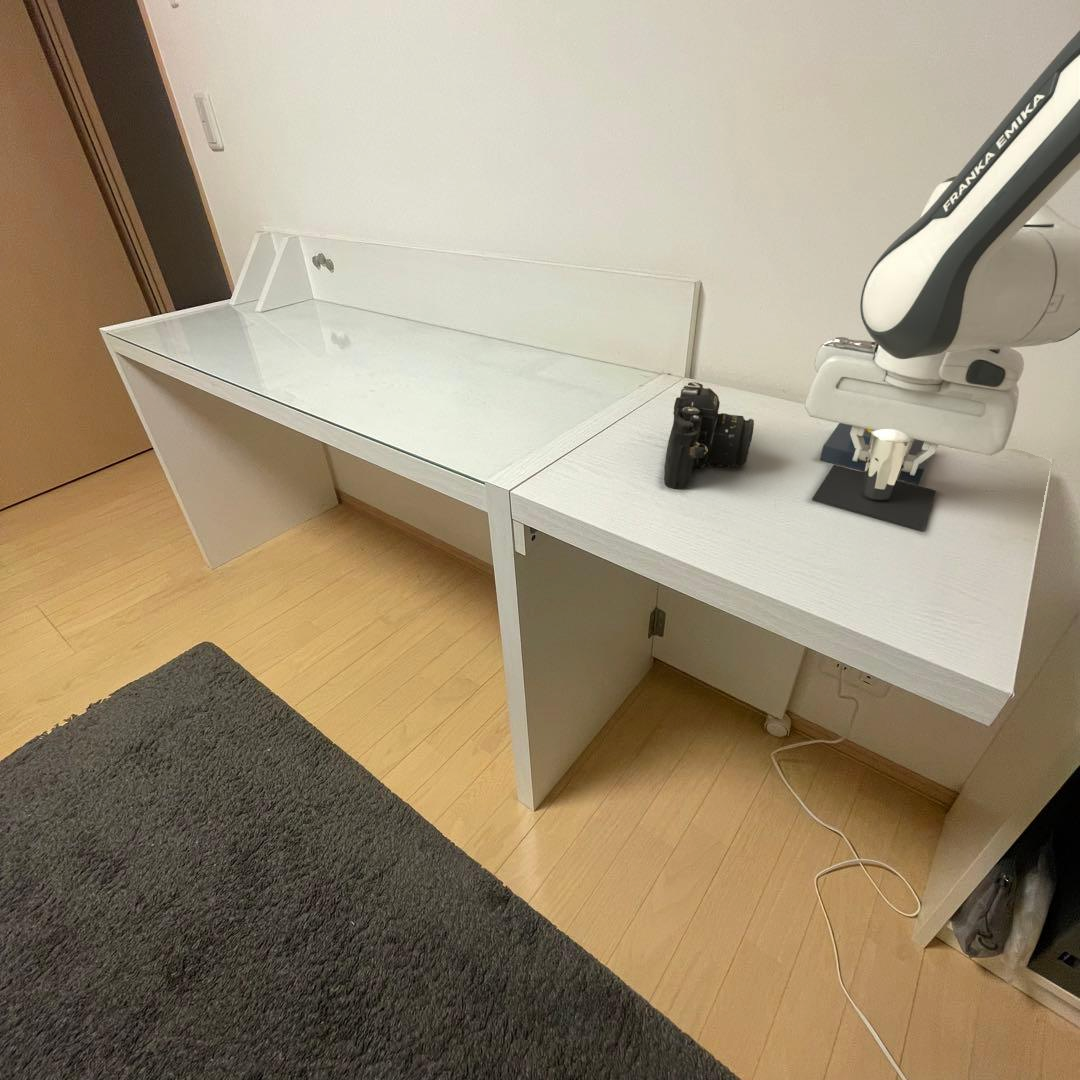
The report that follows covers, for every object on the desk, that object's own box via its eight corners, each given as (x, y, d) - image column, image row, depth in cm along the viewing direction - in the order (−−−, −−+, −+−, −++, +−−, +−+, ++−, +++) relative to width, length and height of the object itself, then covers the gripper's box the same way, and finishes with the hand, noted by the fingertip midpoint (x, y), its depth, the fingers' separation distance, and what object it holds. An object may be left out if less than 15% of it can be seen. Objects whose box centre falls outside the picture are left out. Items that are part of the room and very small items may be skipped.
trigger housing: (930, 453, 83) (941, 426, 81) (918, 484, 77) (929, 456, 74) (838, 432, 89) (845, 407, 87) (819, 460, 82) (826, 433, 80)
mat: (934, 492, 75) (936, 490, 75) (921, 531, 68) (923, 528, 68) (832, 467, 81) (833, 464, 80) (811, 500, 74) (812, 497, 74)
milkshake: (886, 481, 76) (908, 405, 70) (903, 503, 72) (928, 423, 66) (848, 481, 76) (867, 405, 71) (862, 503, 72) (884, 424, 66)
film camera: (768, 495, 75) (786, 420, 70) (668, 497, 75) (677, 422, 69) (729, 431, 90) (741, 365, 84) (646, 433, 90) (652, 367, 84)
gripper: (814, 341, 67) (786, 454, 75) (1039, 377, 57) (980, 503, 65) (829, 327, 71) (801, 435, 79) (1041, 358, 61) (985, 478, 69)
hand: (883, 466), depth 72 cm, fingers closed on milkshake, 4 cm apart
